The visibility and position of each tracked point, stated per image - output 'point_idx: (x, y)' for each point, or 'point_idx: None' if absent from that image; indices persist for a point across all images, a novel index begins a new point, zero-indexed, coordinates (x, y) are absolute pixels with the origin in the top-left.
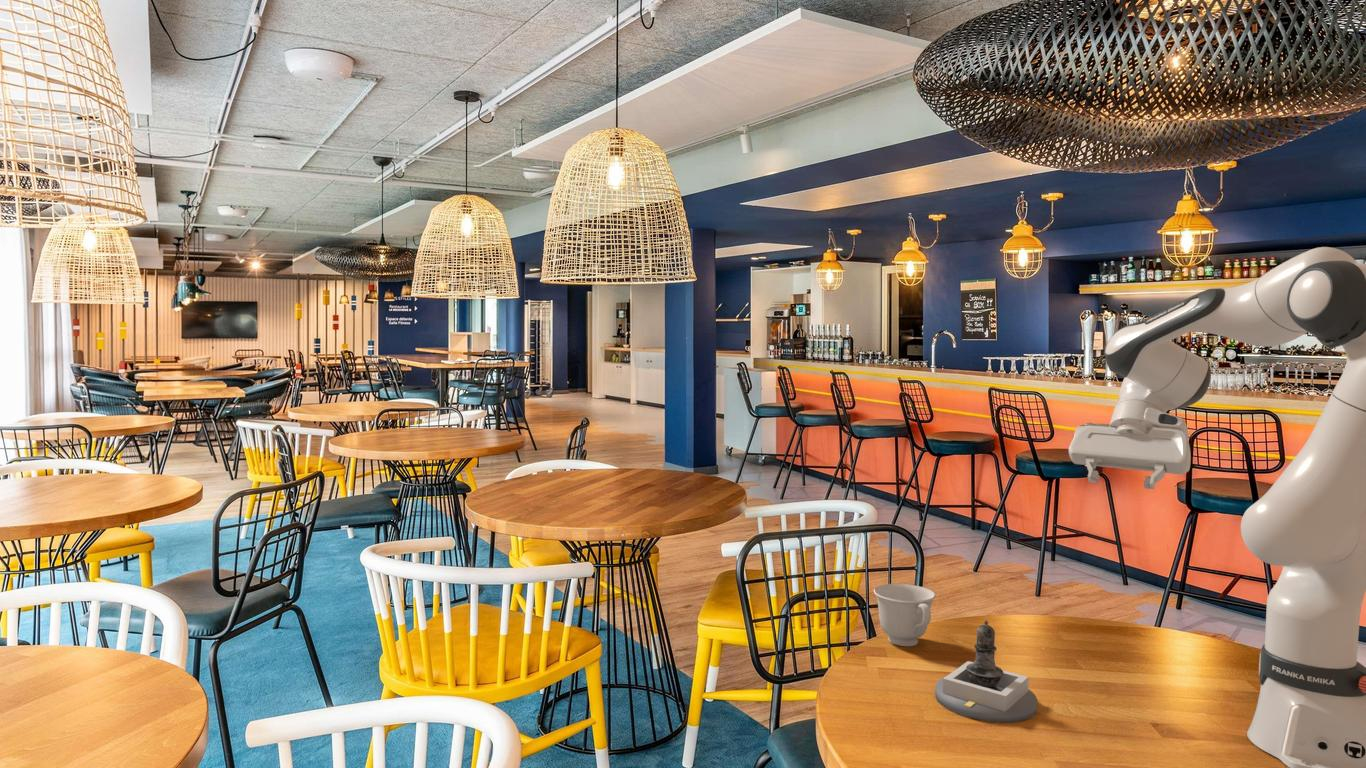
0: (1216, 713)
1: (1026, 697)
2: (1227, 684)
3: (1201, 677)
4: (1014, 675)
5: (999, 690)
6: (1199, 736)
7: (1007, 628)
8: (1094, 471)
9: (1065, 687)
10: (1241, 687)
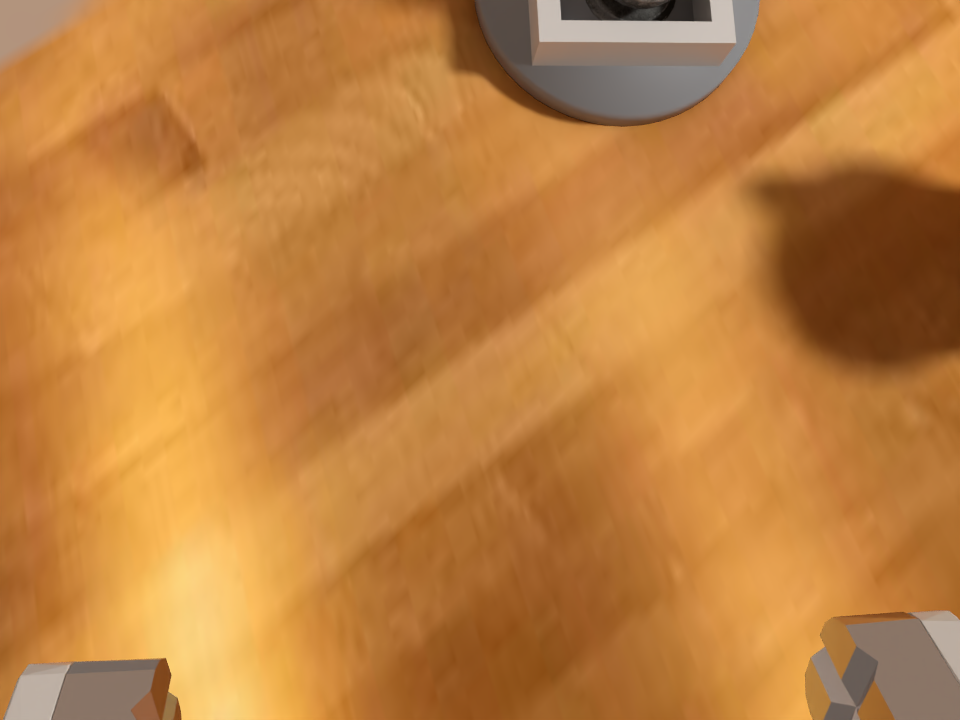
0: (54, 376)
1: (518, 21)
2: None
3: None
4: (576, 24)
5: (594, 8)
6: (70, 161)
7: None
8: (937, 713)
9: (481, 255)
10: None
